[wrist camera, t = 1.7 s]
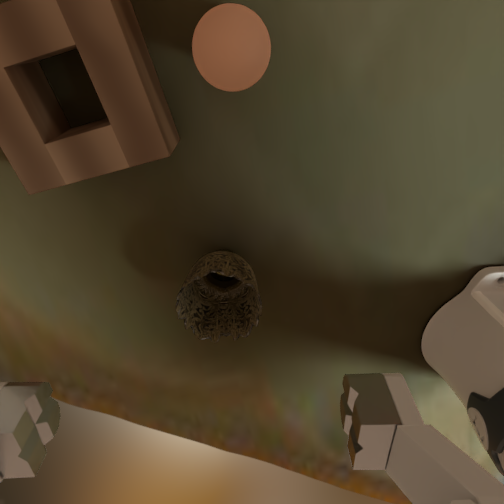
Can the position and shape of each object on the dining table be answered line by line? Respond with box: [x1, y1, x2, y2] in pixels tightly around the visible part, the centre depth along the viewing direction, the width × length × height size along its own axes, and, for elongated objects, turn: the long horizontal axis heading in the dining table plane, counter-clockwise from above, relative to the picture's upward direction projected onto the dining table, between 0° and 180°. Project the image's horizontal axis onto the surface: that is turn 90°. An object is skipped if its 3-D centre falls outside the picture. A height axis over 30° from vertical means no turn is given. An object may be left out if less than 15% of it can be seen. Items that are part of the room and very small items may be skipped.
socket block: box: [0, 0, 180, 195], centre depth 30 cm, size 12×12×5 cm
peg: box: [192, 3, 271, 92], centre depth 25 cm, size 4×4×12 cm
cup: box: [176, 249, 262, 342], centre depth 37 cm, size 7×7×8 cm
